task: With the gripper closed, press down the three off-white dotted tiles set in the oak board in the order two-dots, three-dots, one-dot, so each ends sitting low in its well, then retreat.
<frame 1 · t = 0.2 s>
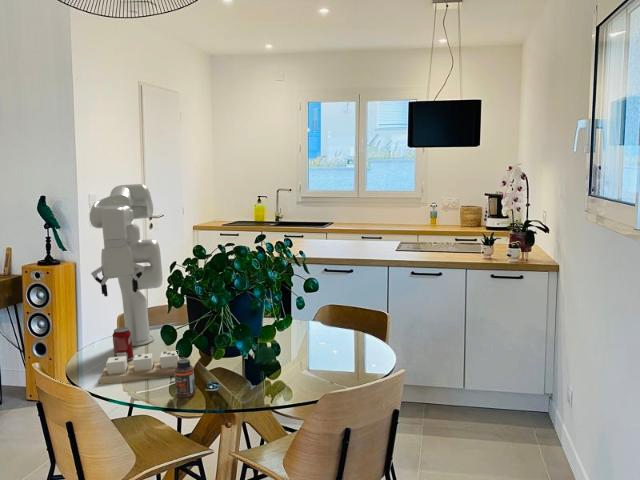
hand: (120, 293, 208), 30 cm above the table, fingers open, 9 cm apart
tile 1: (117, 364, 215), point 4 cm above the table, slide at 0.0 cm
tile 3: (169, 358, 218), point 4 cm above the table, slide at 0.0 cm
supplement bottle: (186, 395, 194), on the table
board: (144, 372, 217), on the table
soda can: (124, 360, 233), on the table
tile 2: (143, 361, 216), point 4 cm above the table, slide at 0.0 cm
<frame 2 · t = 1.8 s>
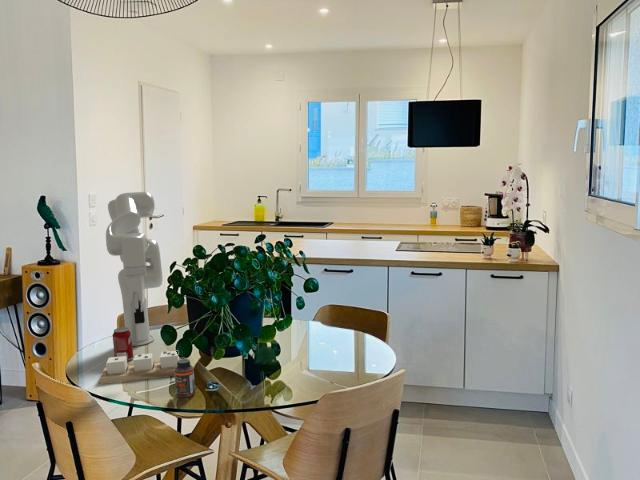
hand: (139, 322, 214), 18 cm above the table, fingers closed
nothing on the table moved.
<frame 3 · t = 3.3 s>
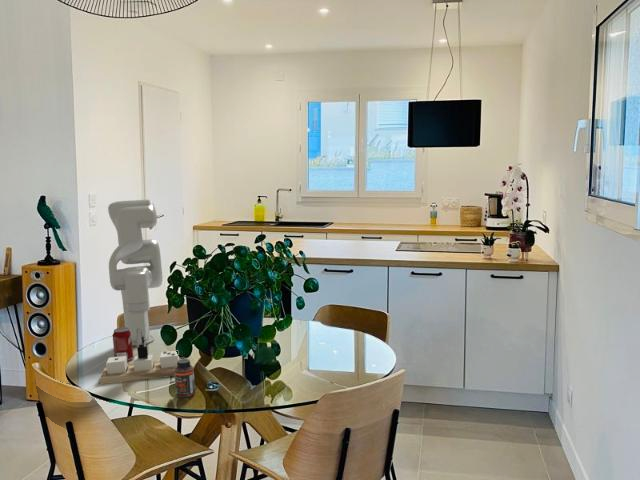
hand: (143, 357, 216), 6 cm above the table, fingers closed
tile 2: (143, 363, 217), point 4 cm above the table, slide at -0.5 cm, touching gripper
everything else where it was.
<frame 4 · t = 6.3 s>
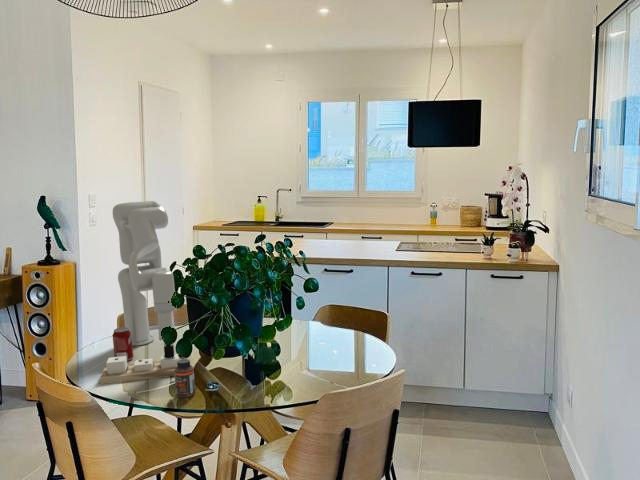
hand: (169, 356, 218), 5 cm above the table, fingers closed
tile 3: (169, 362, 218), point 3 cm above the table, slide at -1.3 cm, touching gripper
tile 2: (144, 366, 217), point 2 cm above the table, slide at -1.9 cm
everything else where it was.
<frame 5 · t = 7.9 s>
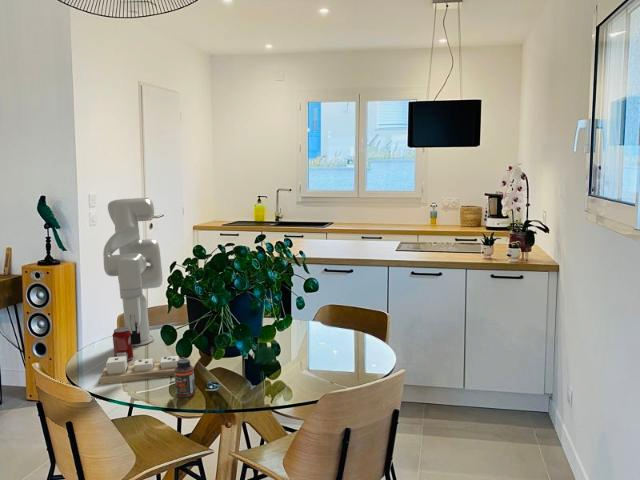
hand: (136, 343, 215), 11 cm above the table, fingers closed
tile 3: (170, 364, 218), point 2 cm above the table, slide at -1.9 cm
everything else where it was.
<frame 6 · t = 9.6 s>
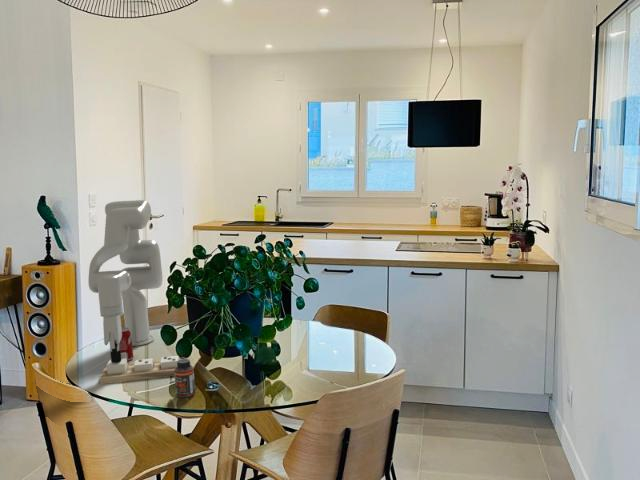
hand: (116, 361, 214), 5 cm above the table, fingers closed
tile 1: (117, 367, 215), point 3 cm above the table, slide at -1.0 cm, touching gripper
everything else where it was.
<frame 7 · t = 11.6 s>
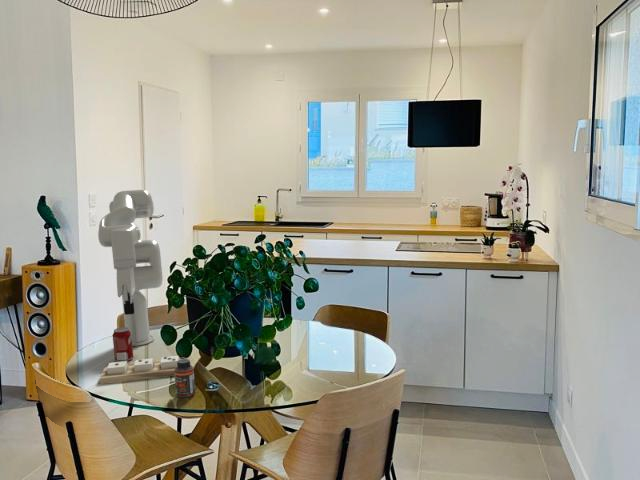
hand: (129, 313, 218), 21 cm above the table, fingers closed
tile 1: (117, 369, 215), point 2 cm above the table, slide at -1.9 cm
everything else where it was.
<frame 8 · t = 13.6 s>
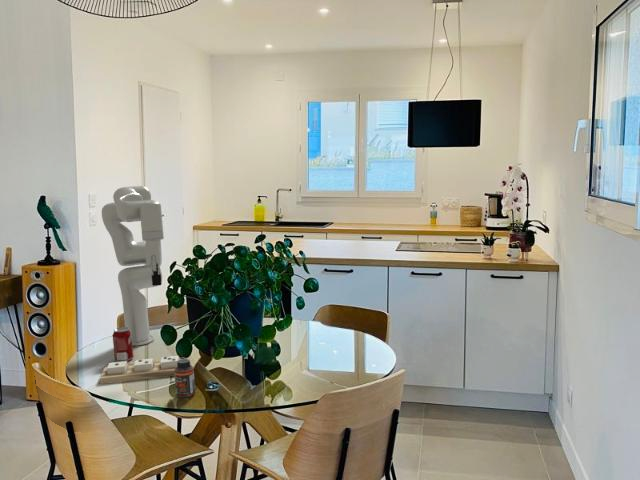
hand: (157, 284, 225), 29 cm above the table, fingers closed
nothing on the table moved.
at the end: tile 2 slide at -1.9 cm; tile 3 slide at -1.9 cm; tile 1 slide at -1.9 cm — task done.
